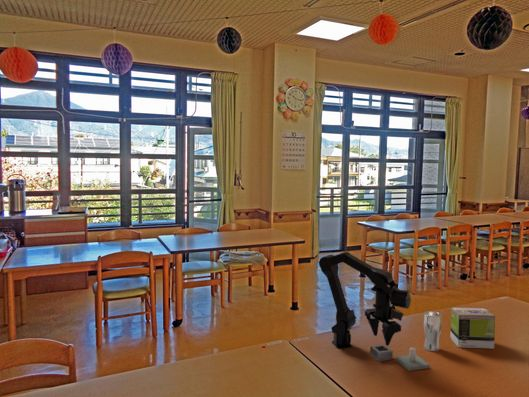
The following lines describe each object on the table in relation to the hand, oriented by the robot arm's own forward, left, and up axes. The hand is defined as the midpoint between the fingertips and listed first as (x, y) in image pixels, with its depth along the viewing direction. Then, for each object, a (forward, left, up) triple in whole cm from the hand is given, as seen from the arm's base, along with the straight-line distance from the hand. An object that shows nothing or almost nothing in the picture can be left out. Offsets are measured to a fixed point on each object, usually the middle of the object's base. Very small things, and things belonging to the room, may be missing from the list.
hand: (381, 340), depth 167 cm
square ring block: (0, 0, -7) cm, 7 cm away
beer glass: (+25, +2, -7) cm, 26 cm away
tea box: (+45, +2, -7) cm, 46 cm away
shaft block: (+9, -8, -7) cm, 14 cm away
